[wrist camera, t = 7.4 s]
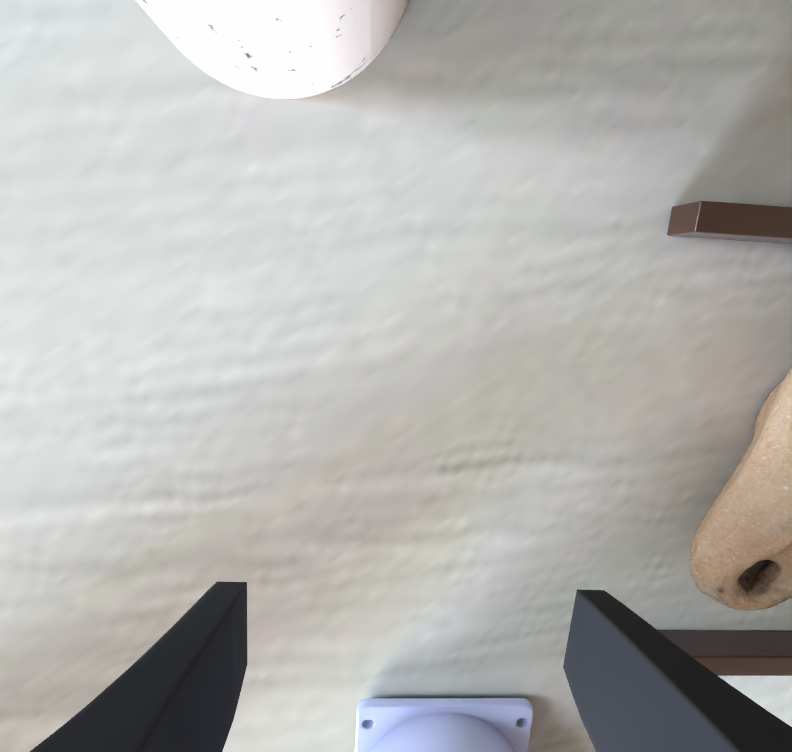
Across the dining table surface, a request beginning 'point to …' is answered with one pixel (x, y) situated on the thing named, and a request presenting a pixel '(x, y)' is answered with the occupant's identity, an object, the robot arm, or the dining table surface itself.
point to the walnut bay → (735, 648)
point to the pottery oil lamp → (752, 518)
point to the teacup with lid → (279, 40)
